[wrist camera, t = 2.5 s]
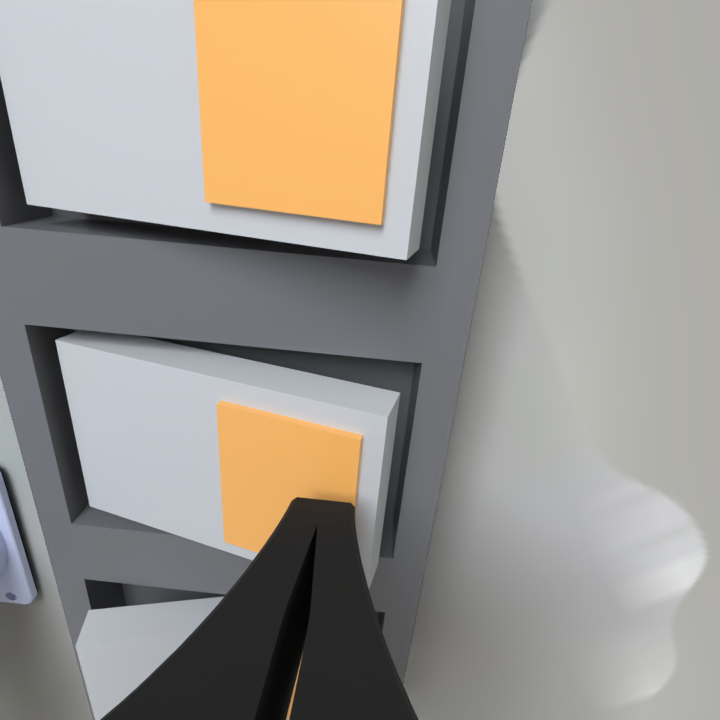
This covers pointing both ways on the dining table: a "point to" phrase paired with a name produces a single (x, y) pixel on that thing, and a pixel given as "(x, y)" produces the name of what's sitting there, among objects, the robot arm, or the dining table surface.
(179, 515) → the outlet rocker
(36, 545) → the dining table surface
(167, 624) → the outlet rocker
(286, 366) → the power strip
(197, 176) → the rocker outlet
